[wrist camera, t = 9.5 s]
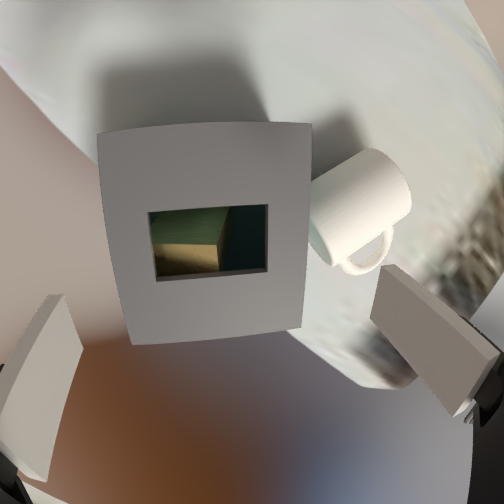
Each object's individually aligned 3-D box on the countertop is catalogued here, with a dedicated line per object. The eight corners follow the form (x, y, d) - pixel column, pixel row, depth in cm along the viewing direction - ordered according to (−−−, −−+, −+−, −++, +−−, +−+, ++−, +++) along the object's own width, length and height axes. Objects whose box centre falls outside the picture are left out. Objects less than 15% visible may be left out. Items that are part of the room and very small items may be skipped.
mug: (277, 189, 30) (306, 207, 22) (352, 145, 29) (397, 150, 22) (324, 275, 35) (356, 309, 27) (386, 231, 34) (427, 254, 27)
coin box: (128, 135, 24) (96, 133, 15) (272, 128, 27) (311, 123, 18) (145, 287, 30) (132, 344, 21) (270, 276, 33) (301, 327, 24)
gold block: (172, 231, 28) (146, 275, 22) (167, 203, 26) (137, 243, 21) (232, 232, 28) (220, 279, 22) (231, 202, 26) (216, 245, 20)
